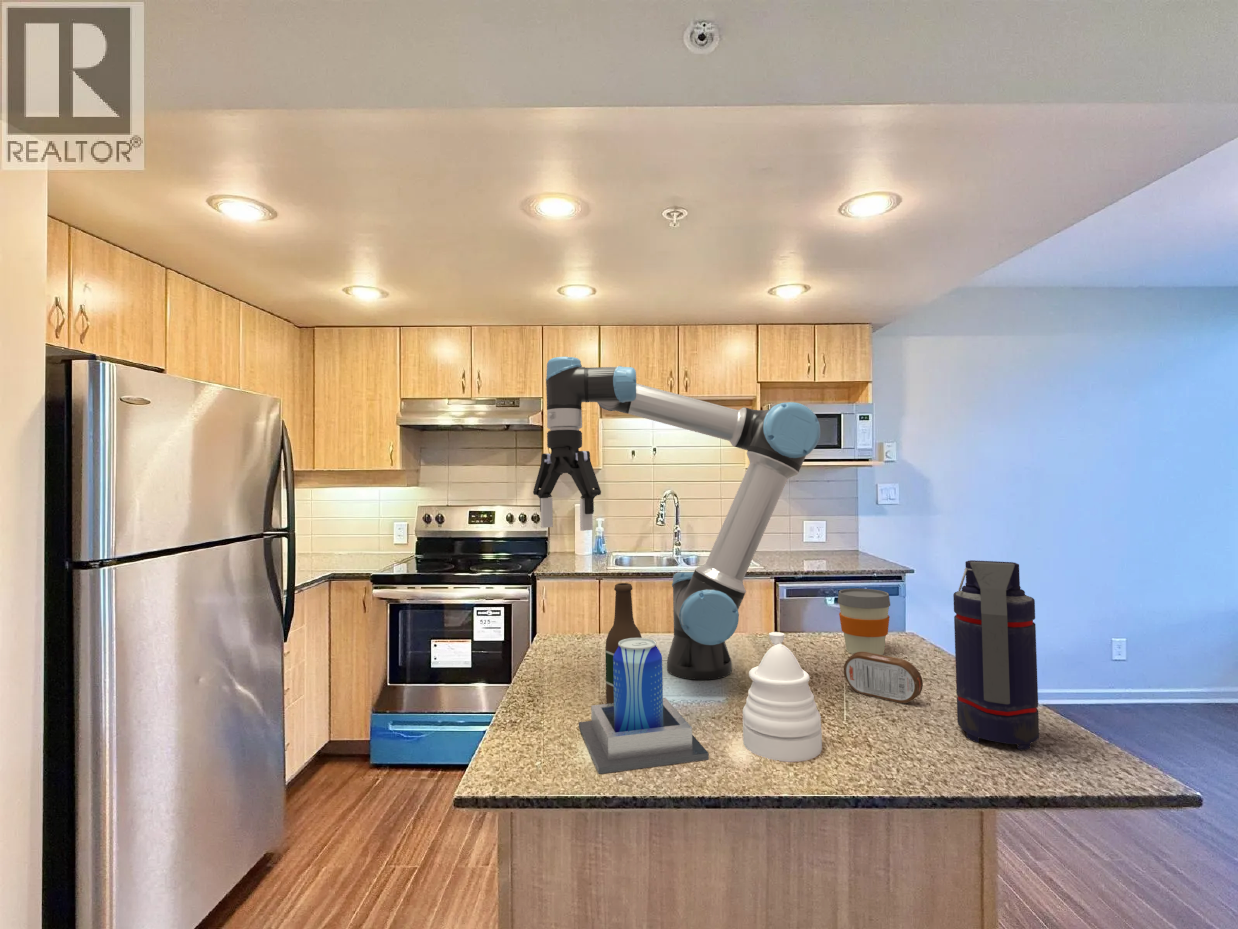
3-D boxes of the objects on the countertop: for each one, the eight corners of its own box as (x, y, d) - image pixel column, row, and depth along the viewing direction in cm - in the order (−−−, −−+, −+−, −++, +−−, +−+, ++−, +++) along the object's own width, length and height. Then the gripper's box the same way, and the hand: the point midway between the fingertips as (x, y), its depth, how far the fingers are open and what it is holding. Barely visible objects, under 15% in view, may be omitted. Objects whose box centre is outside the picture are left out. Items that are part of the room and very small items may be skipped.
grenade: (958, 717, 111) (953, 555, 112) (1036, 730, 105) (1030, 558, 106) (956, 747, 100) (950, 564, 100) (1044, 763, 93) (1037, 569, 94)
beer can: (660, 749, 98) (658, 650, 99) (609, 745, 100) (608, 648, 100) (666, 728, 106) (664, 637, 107) (619, 725, 108) (618, 635, 109)
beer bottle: (631, 714, 116) (629, 588, 116) (598, 706, 120) (596, 585, 121) (651, 701, 122) (649, 582, 123) (619, 694, 127) (617, 579, 127)
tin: (924, 704, 118) (922, 661, 119) (918, 709, 116) (917, 665, 116) (848, 687, 129) (847, 647, 129) (842, 691, 126) (841, 650, 127)
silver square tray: (672, 717, 114) (672, 693, 114) (708, 759, 97) (708, 731, 97) (578, 727, 110) (578, 702, 110) (598, 774, 92) (598, 744, 92)
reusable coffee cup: (834, 644, 162) (832, 588, 162) (883, 645, 160) (881, 588, 160) (845, 658, 149) (843, 597, 150) (898, 659, 148) (896, 597, 148)
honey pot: (737, 728, 108) (735, 628, 109) (809, 728, 108) (806, 627, 108) (750, 762, 96) (748, 647, 96) (832, 762, 95) (829, 647, 96)
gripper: (517, 433, 136) (518, 527, 136) (589, 424, 118) (590, 532, 118) (544, 434, 142) (545, 525, 141) (616, 426, 124) (618, 530, 123)
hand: (565, 528), depth 129 cm, fingers open, 13 cm apart
